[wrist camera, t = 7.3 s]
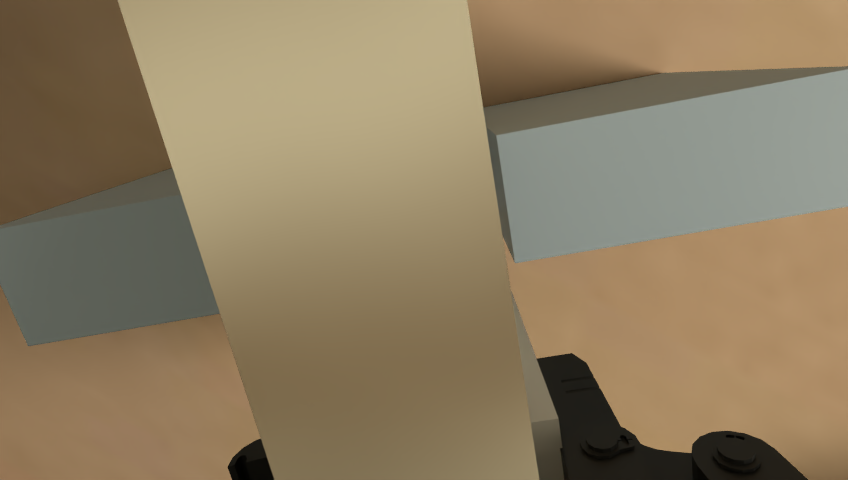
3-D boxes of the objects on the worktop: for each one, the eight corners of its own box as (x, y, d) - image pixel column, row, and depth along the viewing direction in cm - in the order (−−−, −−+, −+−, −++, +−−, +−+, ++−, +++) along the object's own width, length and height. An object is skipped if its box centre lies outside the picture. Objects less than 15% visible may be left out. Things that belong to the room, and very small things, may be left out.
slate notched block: (199, 234, 23) (28, 346, 13) (176, 166, 22) (-23, 232, 12) (668, 149, 21) (859, 204, 12) (663, 72, 20) (866, 65, 11)
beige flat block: (502, 402, 17) (588, 805, 8) (412, 415, 17) (387, 824, 8) (415, -116, 13) (365, -671, 3) (298, -90, 13) (-60, -543, 4)
